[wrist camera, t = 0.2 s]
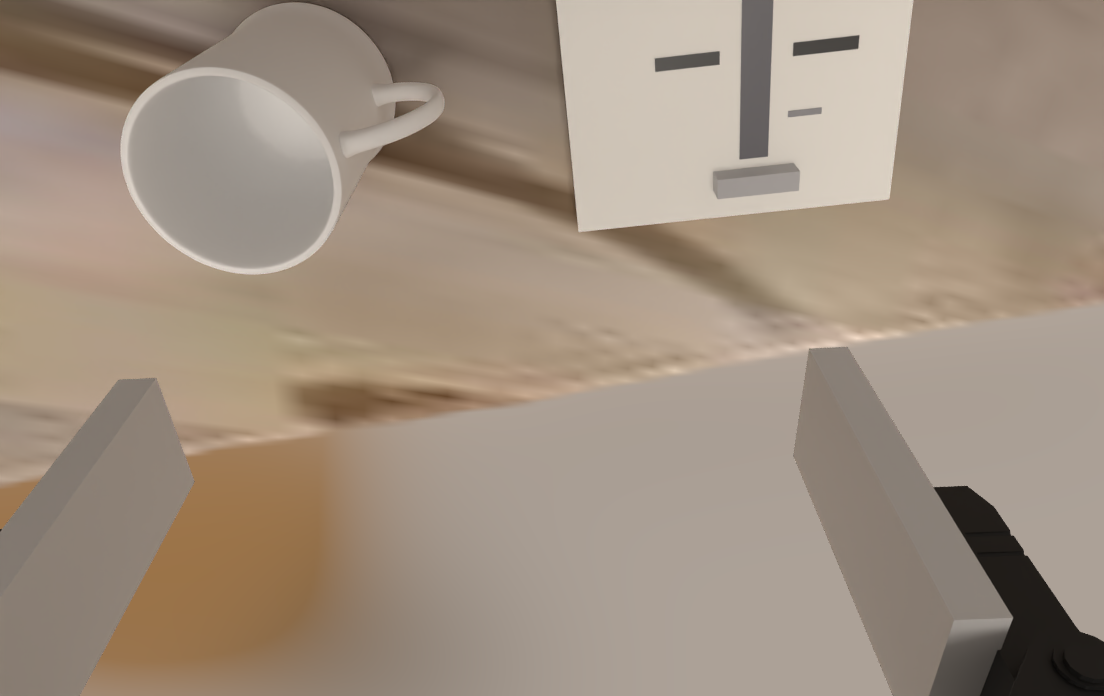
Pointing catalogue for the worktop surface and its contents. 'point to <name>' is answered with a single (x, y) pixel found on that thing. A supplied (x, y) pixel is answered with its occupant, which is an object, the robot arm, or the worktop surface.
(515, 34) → the worktop surface
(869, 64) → the console
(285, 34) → the mug
